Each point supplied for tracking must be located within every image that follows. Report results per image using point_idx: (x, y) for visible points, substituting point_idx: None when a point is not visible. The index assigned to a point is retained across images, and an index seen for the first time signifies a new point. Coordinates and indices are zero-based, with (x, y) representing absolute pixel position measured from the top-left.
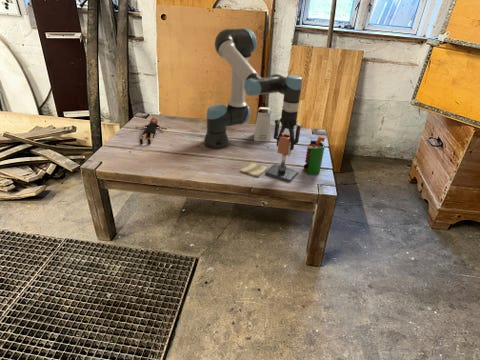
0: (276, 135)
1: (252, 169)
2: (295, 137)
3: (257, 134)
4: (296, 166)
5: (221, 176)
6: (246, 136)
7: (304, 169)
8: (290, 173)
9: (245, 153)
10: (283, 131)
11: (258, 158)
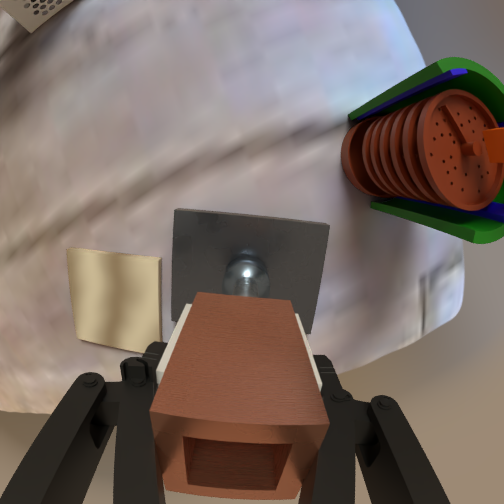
0: (103, 439)
1: (110, 315)
2: (374, 497)
3: (23, 12)
4: (297, 145)
5: (64, 384)
6: (6, 30)
7: (354, 182)
8: (296, 275)
9: (23, 164)
10: (161, 497)
11: (80, 172)
